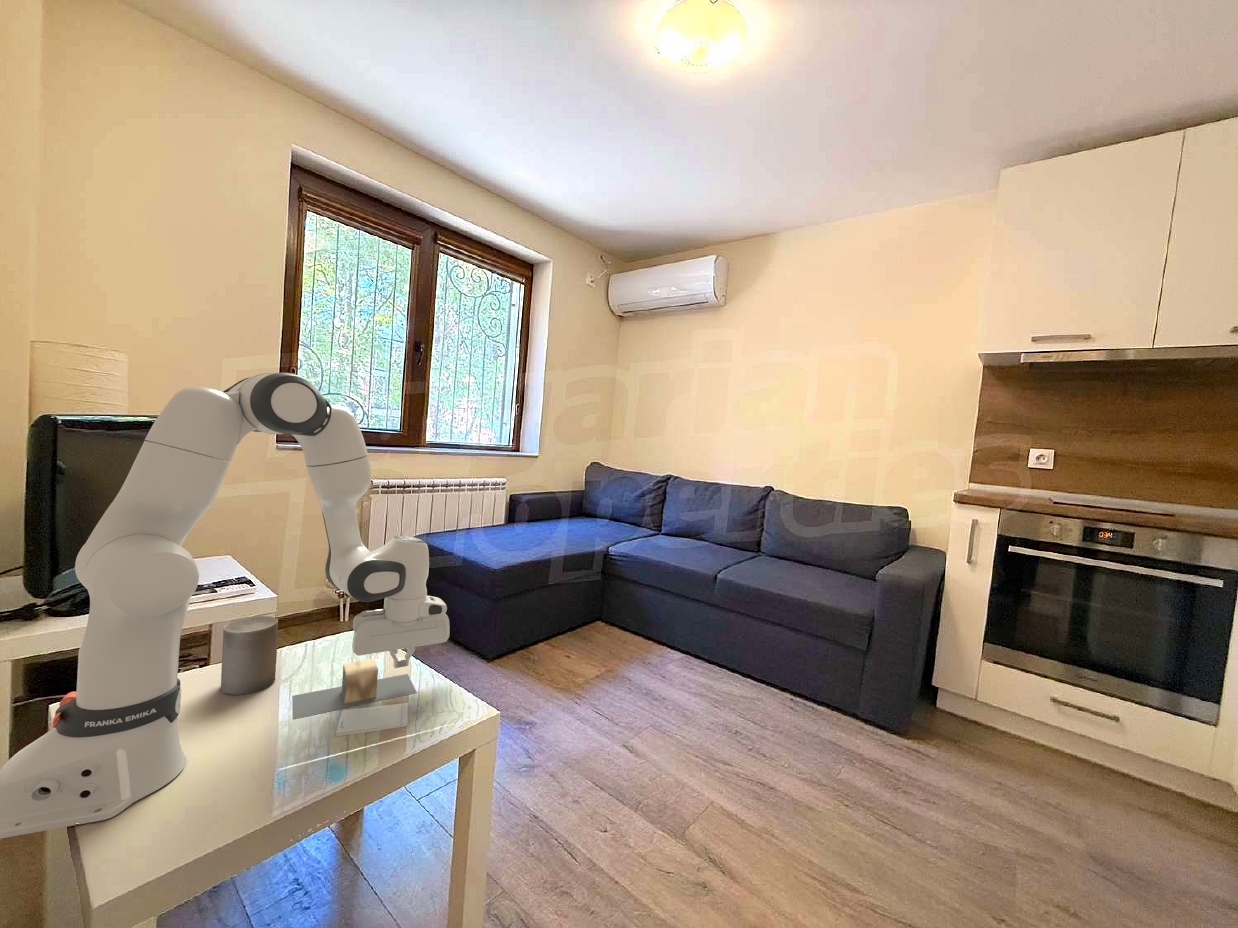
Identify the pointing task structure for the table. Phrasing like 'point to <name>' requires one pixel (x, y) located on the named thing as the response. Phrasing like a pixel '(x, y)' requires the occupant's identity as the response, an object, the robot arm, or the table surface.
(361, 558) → the robot arm
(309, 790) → the table surface
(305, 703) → the rubber mat
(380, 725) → the hard drive
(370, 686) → the oak block
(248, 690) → the pillar candle
